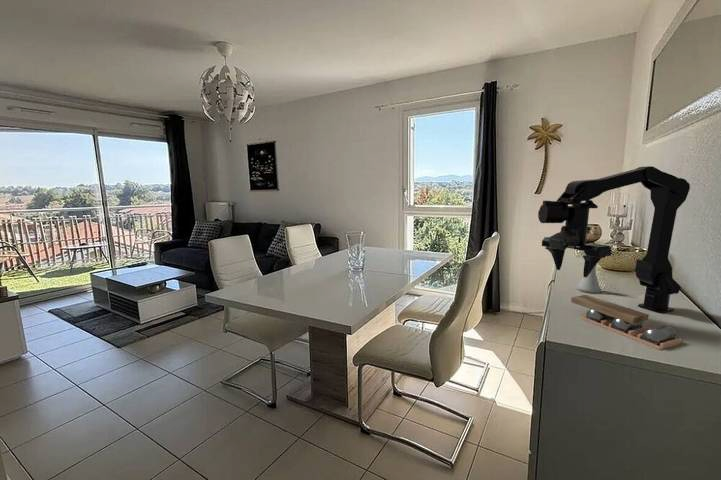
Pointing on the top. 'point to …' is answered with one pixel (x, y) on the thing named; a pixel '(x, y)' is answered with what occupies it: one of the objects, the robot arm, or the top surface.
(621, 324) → the middle roller
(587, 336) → the top surface
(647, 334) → the roller
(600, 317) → the rear roller
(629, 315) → the walnut board
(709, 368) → the top surface
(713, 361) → the top surface
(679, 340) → the roller track
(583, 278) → the flask
